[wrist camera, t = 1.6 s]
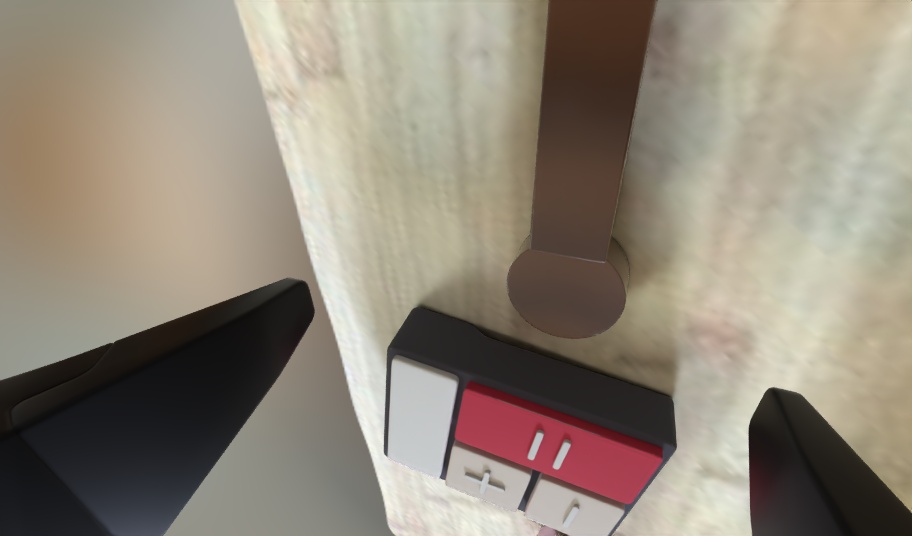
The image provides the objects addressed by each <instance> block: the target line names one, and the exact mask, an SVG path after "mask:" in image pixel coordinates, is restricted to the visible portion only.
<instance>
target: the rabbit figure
mask: <svg viewBox="0 0 912 536" xmlns="http://www.w3.org/2000/svg"><path fill="white" fill-rule="evenodd" d="M537 536H557V535H556V532H555V529H553V528H550V527H548V526H545V525H544V526H543V527H542V529H541V530H540V531H539V533H538V534H537ZM569 536H570V535H569Z"/></svg>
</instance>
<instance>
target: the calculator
mask: <svg viewBox="0 0 912 536" xmlns="http://www.w3.org/2000/svg"><path fill="white" fill-rule="evenodd" d="M676 448H677V443H676V429H675V414H674V403H673V401H672V399H671V398H669V397H667V396H665V395H662V394H659V393H655V392H652V391H649V390H646V389H643V388H640V387H637V386H634V385H631V384H628V383H625V382H622V381H619V380H616V379H613V378H610V377H607V376H604V375H601V374H597V373H594V372H591V371H588V370H585V369H582V368H579V367H576V366H573V365H570V364H567V363H564V362H561V361H558V360H555V359H552V358H549V357H546V356H542V355H539V354H536V353H533V352H530V351H527V350H524V349H521V348H518V347H515V346H512V345H509V344H506V343H503V342H500V341H497V340H494V339H491V338H488V337H485V336H484V335H483V334H482V333H481V332H479V331H478V330H477V329H476V328H475V327H474V326H473V325H472V324H469V323H466V322H463V321H460V320H456V319H453V318H450V317H447V316H444V315H441V314H438V313H435V312H432V311H429V310H426V309H422V308H419V307H416V308H414V309H413V310H412V311H411V312H410V314H409V315H408V317H407V319H406V320H405V322H404V323H403V325H402V326H401V328H400V329H399V331H398V333H397V334H396V336H395V337H394V339H393V340H392V342H391V344H390V345H389V347H388V350H387V374H386V402H385V429H384V454H385V455H386V456H387V457H388V459H389V460H391V461H393V462H395V463H398V464H400V465H403V466H405V467H408V468H410V469H413V470H415V471H418V472H420V473H423V474H425V475H428V476H431V477H433V478H436V479H438V478H441V479H443V480H446V481H445V484H446V485H447V486H448V487H450V488H453V489H455V490H458V491H460V492H463V493H465V494H468V495H470V496H473V497H475V498H478V499H480V500H483V501H485V502H488V503H490V504H493V505H495V506H498V507H500V508H503V509H505V510H508V511H511V512H516V511H517V509H519V510H521V511H524V512H525V513H524V515H525V517H526V518H528V519H530V520H533V521H535V522H538V523H540V524H543V525H545V526H548V527H550V528H553V529H555V530H558V531H560V532H563V533H565V534H568V535H570V536H611V535H612V534H613V533H614V531H615V530H616V529H617V527H618V526H619V525H620V523H621V522H622V521H623V519H624V518H625V517H626V516H627V514H628V513H629V512H630V510H631V509H632V508H633V506H634V505H635V504H636V502H637V501H638V500H639V498H640V497H641V496H642V494H643V493H644V492H645V490H646V489H647V488H648V486H649V485H650V484H651V482H652V481H653V480H654V478H655V477H656V476H657V474H658V473H659V472H660V470H661V469H662V468H663V466H664V465H665V464H666V462H667V461H668V460H669V459H670V457H671V456H672V455H673V453H674V452H675V450H676Z"/></svg>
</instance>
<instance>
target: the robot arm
mask: <svg viewBox="0 0 912 536" xmlns="http://www.w3.org/2000/svg"><path fill="white" fill-rule="evenodd" d="M314 313H315V309H314V305H313V301H312V298H311V294H310V290H309V287H308V284H307V283H306V282H305V281H303V280H299V279H294V278H286V279H283V280H280V281H278V282H275V283H272V284H269V285H267V286H264V287H261V288H259V289H256V290H253V291H250V292H248V293H245V294H242V295H240V296H237V297H234V298H231V299H229V300H226V301H223V302H221V303H218V304H215V305H213V306H210V307H207V308H204V309H202V310H199V311H196V312H193V313H191V314H188V315H185V316H183V317H180V318H177V319H175V320H172V321H169V322H166V323H164V324H161V325H158V326H156V327H153V328H150V329H147V330H145V331H142V332H139V333H136V334H134V335H131V336H128V337H126V338H123V339H120V340H117V341H115V342H114V343H109V344H106V345H104V346H101V347H99V348H95V349H93V350H90V351H87V352H84V353H82V354H79V355H76V356H73V357H70V358H67V359H65V360H62V361H59V362H56V363H53V364H50V365H47V366H44V367H41V368H38V369H35V370H32V371H29V372H26V373H22V374H19V375H16V376H13V377H10V378H7V379H4V380H0V536H163V535H164V534H165V532H166V531H167V530H168V528H169V527H170V525H171V524H172V523H173V521H174V520H175V519H176V517H177V516H178V515H179V513H180V512H181V510H182V509H183V508H184V506H185V505H186V504H187V502H188V501H189V499H190V498H191V497H192V495H193V494H194V493H195V491H196V490H197V488H198V487H199V486H200V484H201V483H202V481H203V480H204V479H205V477H206V476H207V475H208V473H209V472H210V471H211V469H212V468H213V466H214V465H215V464H216V462H217V461H218V460H219V458H220V457H221V455H222V454H223V453H224V451H225V450H226V449H227V447H228V446H229V444H230V443H231V442H232V440H233V439H234V438H235V436H236V435H237V434H238V432H239V431H240V429H241V428H242V427H243V425H244V424H245V423H246V421H247V419H248V418H249V417H250V416H251V414H252V413H253V412H254V410H255V409H256V407H257V406H258V405H259V403H260V402H261V401H262V399H263V398H264V396H265V395H266V394H267V392H268V391H269V390H270V388H271V387H272V385H273V384H274V383H275V381H276V379H277V378H278V377H279V375H280V374H281V372H282V371H283V369H284V367H285V366H286V364H287V363H288V361H289V359H290V357H291V356H292V354H293V352H294V351H295V349H296V347H297V346H298V344H299V342H300V340H301V339H302V337H303V335H304V334H305V332H306V330H307V328H308V327H309V325H310V323H311V322H312V320H313V317H314ZM749 477H750V515H751V527H752V536H912V513H911V512H910V511H909V510H908V508H907V507H906V506H905V505H904V504H903V503H902V502H901V501H900V500H899V499H898V498H897V497H896V496H895V494H894V493H893V492H892V491H891V490H890V489H889V488H888V487H887V486H886V485H885V484H884V483H883V482H882V480H881V479H880V478H879V477H878V476H877V475H876V474H875V473H874V472H873V471H872V470H871V469H870V468H869V467H868V465H867V464H866V463H865V462H864V461H863V460H862V459H861V458H860V457H859V456H858V455H857V454H856V453H855V451H854V450H853V449H852V448H851V447H850V446H849V445H848V444H847V443H846V442H845V441H844V440H843V439H842V437H841V436H840V435H839V434H838V433H837V432H836V431H835V430H834V429H833V428H832V427H831V426H830V425H829V424H828V422H827V421H826V420H825V419H824V418H823V417H822V416H821V415H820V414H819V413H818V412H817V411H816V410H815V408H814V407H813V406H812V405H811V404H810V403H809V402H808V401H807V400H806V399H805V398H804V397H803V396H802V395H801V394H799V393H796V392H793V391H788V390H784V389H780V388H775V387H773V388H769V389H768V390H767V391H766V392H765V393H764V395H763V397H762V399H761V401H760V403H759V405H758V407H757V408H756V410H755V412H754V414H753V416H752V418H751V421H750V425H749Z"/></svg>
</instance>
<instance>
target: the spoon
mask: <svg viewBox="0 0 912 536" xmlns="http://www.w3.org/2000/svg"><path fill="white" fill-rule="evenodd" d="M657 1H658V0H549V3H548V16H547V28H546V41H545V53H544V66H543V79H542V91H541V104H540V116H539V129H538V142H537V154H536V167H535V179H534V192H533V205H532V217H531V230H530V235H529V236H528V237H527V238H526V240H525V241H524V243H523V244H522V246H521V248H520V250H519V252H518V254H517V256H516V258H515V259H514V261H513V263H512V265H511V267H510V269H509V273H508V277H507V289H508V294H509V297H510V300H511V302H512V304H513V306H514V308H515V309H516V311H517V312H518V313H519V314H520V315H521V316H522V317H523V318H524V319H525V320H526V321H527V322H528V323H529V324H531V325H532V326H534V327H535V328H537V329H539V330H541V331H543V332H545V333H548V334H550V335H554V336H557V337H562V338H571V339H575V338H587V337H591V336H594V335H597V334H600V333H602V332H604V331H606V330H607V329H609V328H610V327H611V326H612V325H613V324H615V323H616V321H617V320H618V319H619V318H620V316H621V314H622V312H623V310H624V307H625V302H626V295H627V288H628V280H629V265H628V261H627V258H626V255H625V253H624V251H623V250H622V248H621V247H620V245H619V244H618V243H617V242H616V241H615V240H614V239H613V238H612V237H611V234H612V230H613V225H614V220H615V215H616V210H617V205H618V200H619V194H620V189H621V184H622V179H623V174H624V169H625V164H626V159H627V154H628V149H629V144H630V138H631V133H632V128H633V123H634V118H635V113H636V108H637V103H638V98H639V93H640V88H641V82H642V77H643V72H644V67H645V62H646V57H647V52H648V47H649V42H650V37H651V32H652V26H653V21H654V16H655V11H656V6H657Z"/></svg>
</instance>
